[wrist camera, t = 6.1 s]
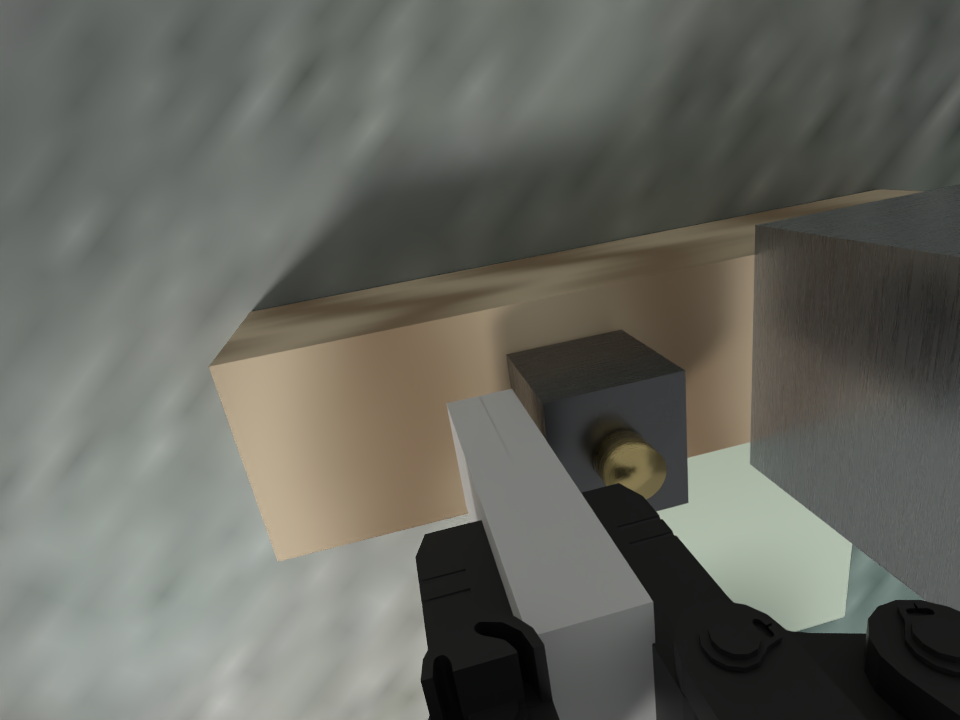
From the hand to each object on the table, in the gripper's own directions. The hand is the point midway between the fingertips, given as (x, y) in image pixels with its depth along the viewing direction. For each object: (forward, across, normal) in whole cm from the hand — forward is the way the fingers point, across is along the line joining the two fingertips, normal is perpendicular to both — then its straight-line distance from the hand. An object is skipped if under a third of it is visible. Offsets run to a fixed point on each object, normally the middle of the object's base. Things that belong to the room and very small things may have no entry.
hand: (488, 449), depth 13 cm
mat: (+7, +10, -12) cm, 17 cm away
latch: (+1, +2, 0) cm, 3 cm away
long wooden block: (+7, +5, 0) cm, 8 cm away
